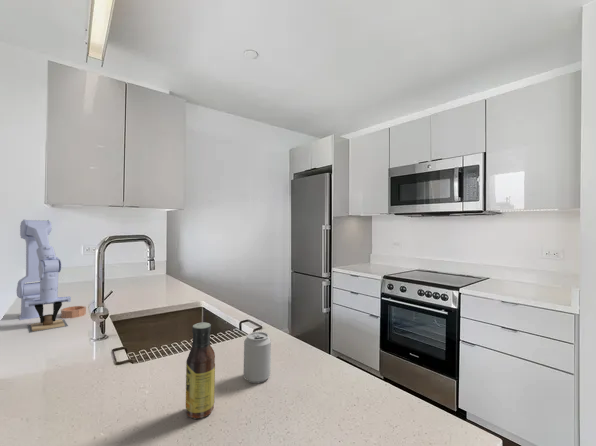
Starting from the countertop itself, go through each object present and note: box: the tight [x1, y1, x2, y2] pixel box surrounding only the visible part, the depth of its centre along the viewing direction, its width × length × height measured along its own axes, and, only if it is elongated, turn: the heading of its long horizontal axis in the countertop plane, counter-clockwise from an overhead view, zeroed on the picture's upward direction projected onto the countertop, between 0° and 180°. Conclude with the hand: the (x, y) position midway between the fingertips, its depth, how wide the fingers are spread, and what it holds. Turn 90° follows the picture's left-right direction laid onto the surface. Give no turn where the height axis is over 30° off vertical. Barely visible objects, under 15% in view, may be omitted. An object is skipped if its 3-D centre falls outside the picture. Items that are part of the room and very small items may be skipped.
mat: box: [26, 319, 69, 334], centre depth 123 cm, size 12×12×1 cm
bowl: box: [60, 305, 87, 319], centre depth 138 cm, size 9×9×4 cm
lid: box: [30, 313, 65, 333], centre depth 123 cm, size 10×10×4 cm
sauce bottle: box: [185, 322, 216, 419], centre depth 68 cm, size 7×6×20 cm
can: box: [243, 331, 272, 384], centre depth 84 cm, size 8×8×12 cm
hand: (47, 321), depth 123 cm, fingers closed on lid, 3 cm apart
